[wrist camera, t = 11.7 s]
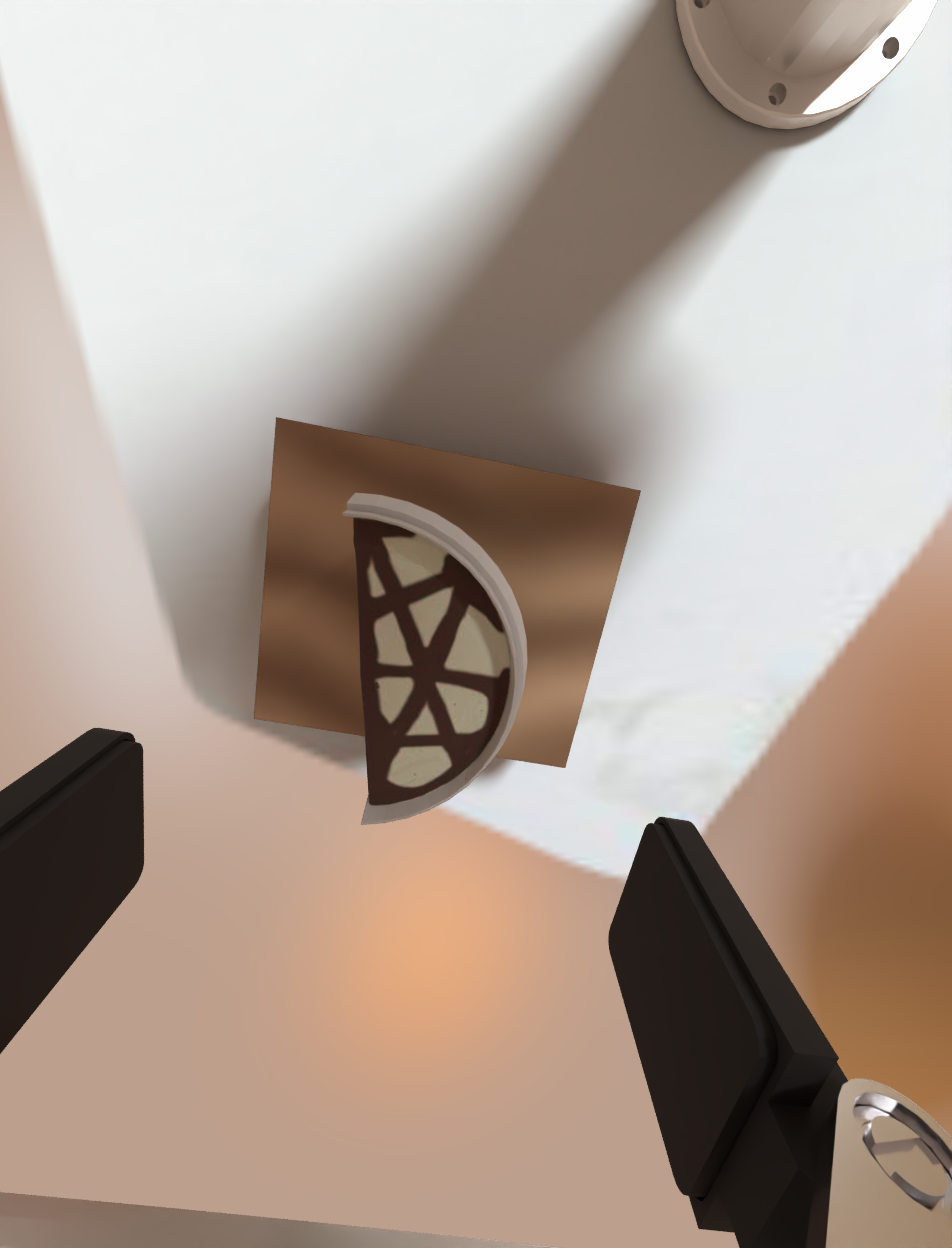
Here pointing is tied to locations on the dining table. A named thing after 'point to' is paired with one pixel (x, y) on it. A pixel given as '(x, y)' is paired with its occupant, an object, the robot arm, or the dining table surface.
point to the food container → (430, 655)
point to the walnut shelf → (489, 514)
